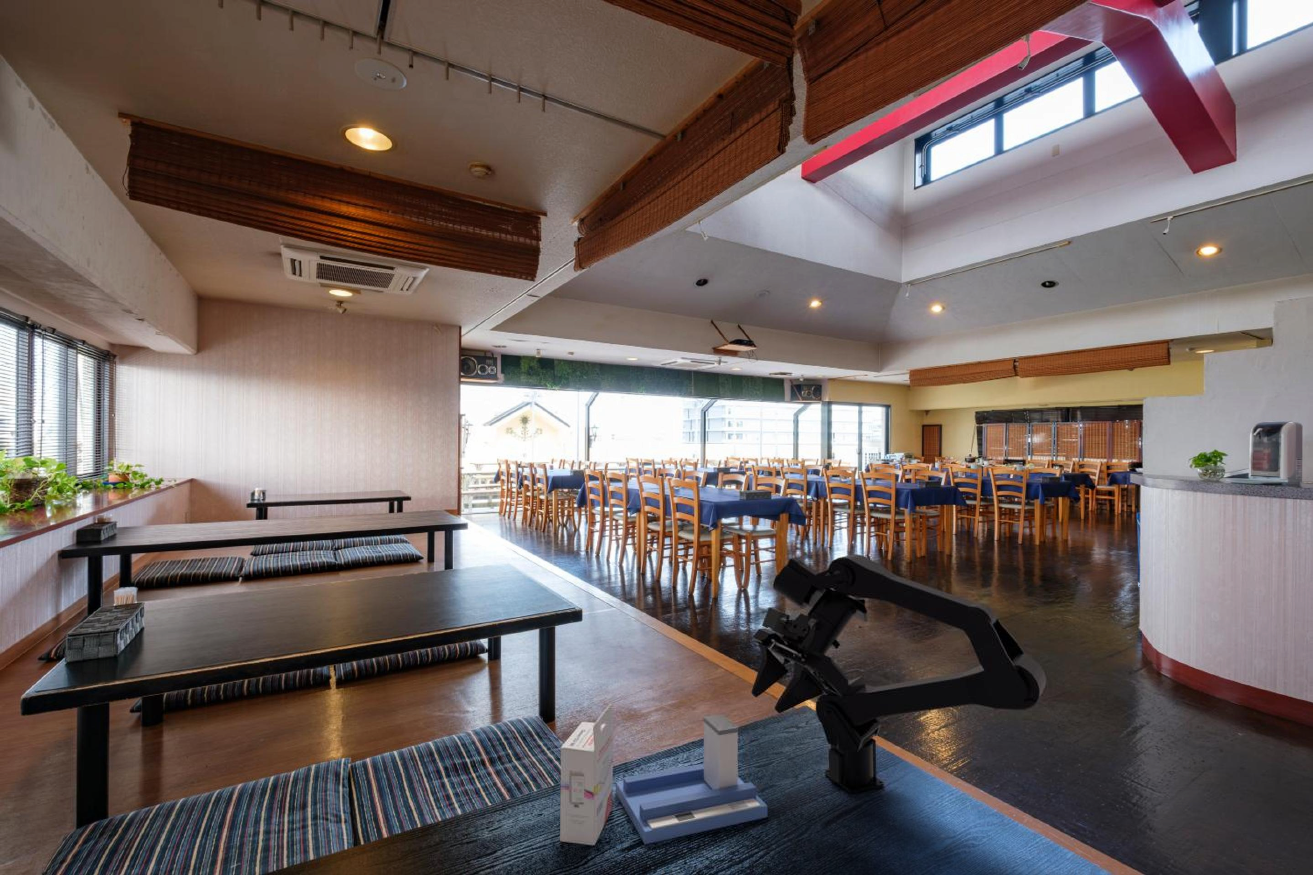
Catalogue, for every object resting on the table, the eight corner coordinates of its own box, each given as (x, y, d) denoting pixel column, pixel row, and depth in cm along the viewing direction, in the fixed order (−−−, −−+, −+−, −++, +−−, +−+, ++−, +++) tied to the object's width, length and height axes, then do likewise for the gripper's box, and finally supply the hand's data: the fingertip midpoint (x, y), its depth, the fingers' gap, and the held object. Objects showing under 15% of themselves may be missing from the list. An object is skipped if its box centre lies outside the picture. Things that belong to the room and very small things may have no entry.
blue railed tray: (723, 772, 91) (723, 752, 91) (767, 816, 79) (767, 794, 79) (615, 792, 85) (616, 771, 85) (644, 844, 73) (645, 819, 73)
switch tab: (722, 775, 87) (722, 714, 87) (738, 792, 82) (738, 727, 83) (702, 778, 86) (703, 716, 86) (718, 796, 81) (718, 730, 81)
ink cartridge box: (579, 805, 81) (581, 698, 82) (613, 809, 80) (614, 701, 81) (557, 842, 73) (560, 722, 74) (594, 847, 72) (596, 726, 73)
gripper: (762, 580, 99) (704, 651, 94) (831, 601, 82) (764, 689, 77) (801, 623, 101) (746, 694, 97) (876, 652, 84) (814, 741, 79)
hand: (764, 702), depth 87 cm, fingers open, 6 cm apart
